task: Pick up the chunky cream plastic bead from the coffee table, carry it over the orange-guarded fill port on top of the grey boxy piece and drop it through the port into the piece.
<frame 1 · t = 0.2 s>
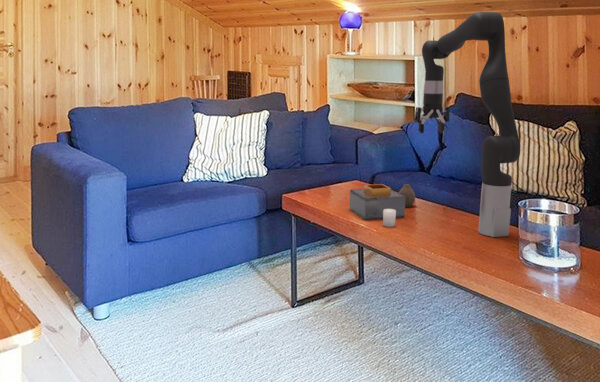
hand: (431, 132, 217), 29 cm above the table, tool pointing down, fingers open, 8 cm apart
grey boxy piece: (376, 213, 207), on the table
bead: (389, 225, 191), on the table
vase: (405, 206, 217), on the table
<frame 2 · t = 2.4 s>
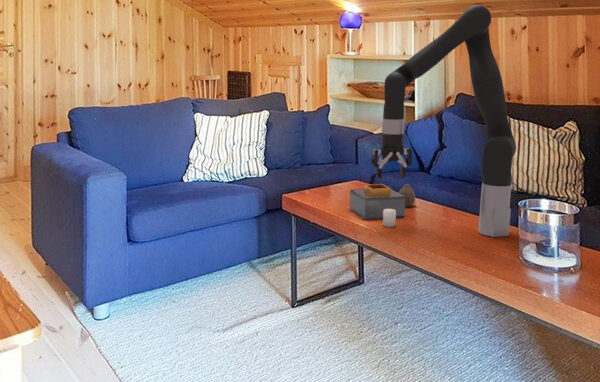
hand: (390, 178, 187), 17 cm above the table, tool pointing down, fingers open, 8 cm apart
nothing on the table moved.
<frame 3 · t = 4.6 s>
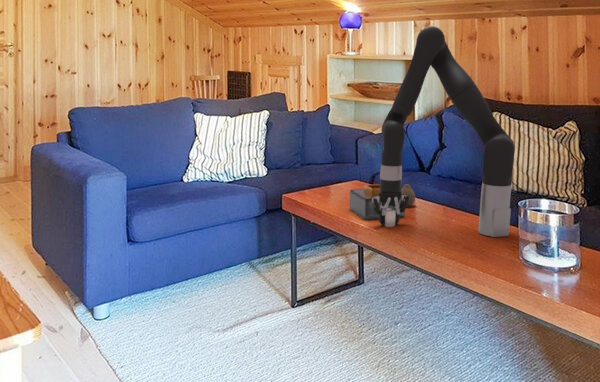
hand: (389, 224, 191), 0 cm above the table, tool pointing down, fingers closed on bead, 4 cm apart
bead: (388, 225, 191), on the table, touching gripper
everything else where it was.
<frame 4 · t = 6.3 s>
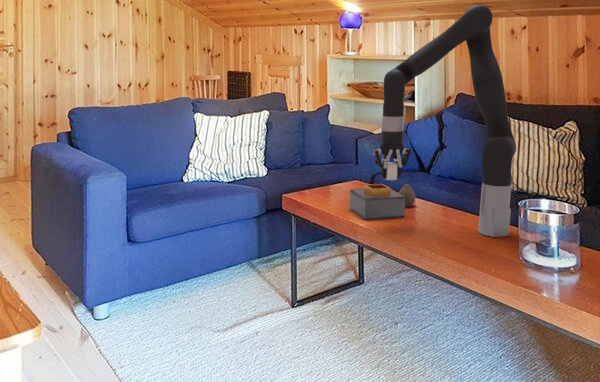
hand: (390, 177, 187), 17 cm above the table, tool pointing down, fingers closed on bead, 4 cm apart
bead: (390, 178, 187), point 17 cm above the table, touching gripper
everything else where it was.
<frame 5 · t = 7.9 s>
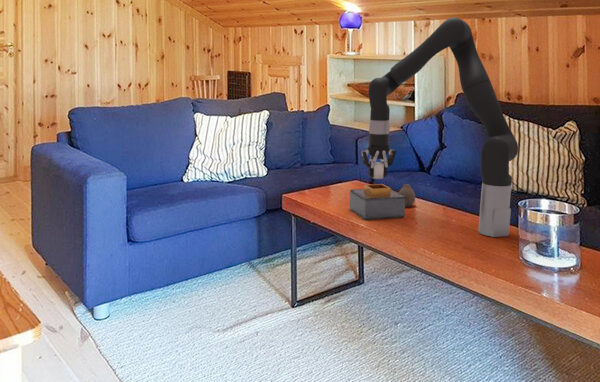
hand: (377, 176, 203), 14 cm above the table, tool pointing down, fingers closed on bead, 4 cm apart
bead: (377, 177, 204), point 14 cm above the table, touching gripper
everything else where it was.
when the fingers open (13 cm above the table, at t = 8.4 s): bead drops 11 cm and tips over, resting on grey boxy piece.
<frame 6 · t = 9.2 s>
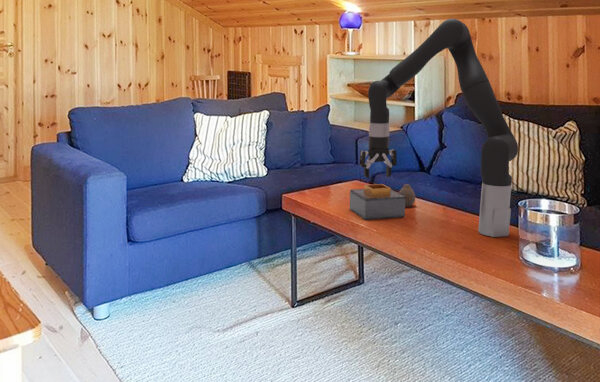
hand: (377, 177, 203), 14 cm above the table, tool pointing down, fingers open, 8 cm apart
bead: (378, 207, 206), point 2 cm above the table, tilted 42°, touching grey boxy piece
everything else where it was.
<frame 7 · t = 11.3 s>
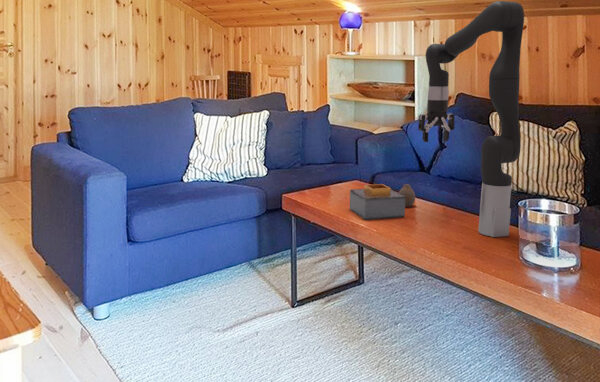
hand: (435, 141, 205), 27 cm above the table, tool pointing down, fingers open, 8 cm apart
nothing on the table moved.
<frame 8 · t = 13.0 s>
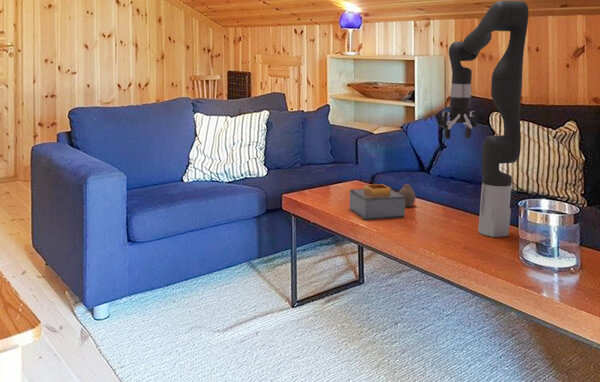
hand: (457, 138, 207), 28 cm above the table, tool pointing down, fingers open, 8 cm apart
nothing on the table moved.
at the end: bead inside the target area on the grey boxy piece (0.6 cm from its centre), point 2.1 cm above the grey boxy piece's base; the gripper is holding nothing; vase moved 0.2 cm from its start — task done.
